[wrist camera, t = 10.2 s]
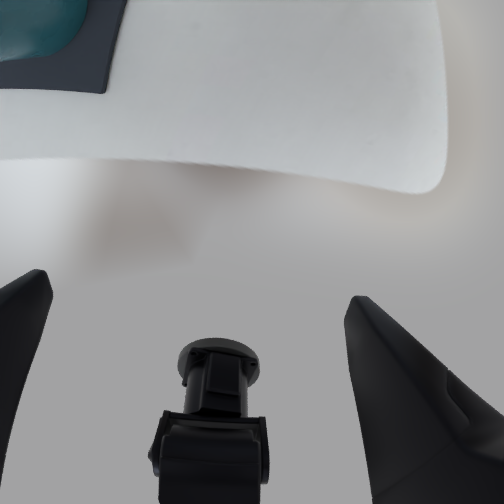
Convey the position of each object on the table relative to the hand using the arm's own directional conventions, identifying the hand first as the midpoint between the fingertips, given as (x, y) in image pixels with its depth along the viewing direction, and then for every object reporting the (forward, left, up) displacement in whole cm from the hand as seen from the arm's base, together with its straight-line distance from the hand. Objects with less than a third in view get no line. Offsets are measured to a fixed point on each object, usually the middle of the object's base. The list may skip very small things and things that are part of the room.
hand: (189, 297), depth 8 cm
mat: (+8, +13, -12) cm, 19 cm away
